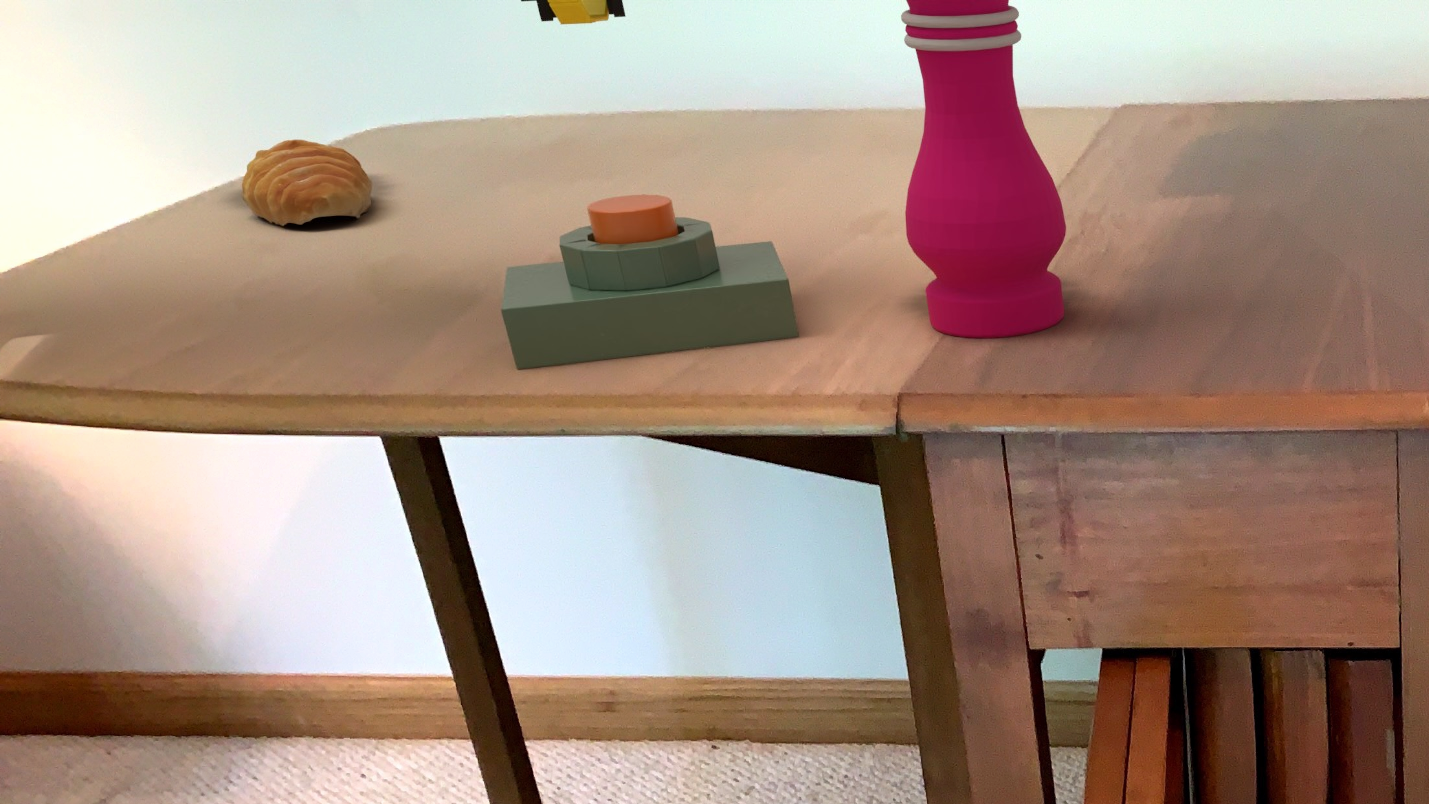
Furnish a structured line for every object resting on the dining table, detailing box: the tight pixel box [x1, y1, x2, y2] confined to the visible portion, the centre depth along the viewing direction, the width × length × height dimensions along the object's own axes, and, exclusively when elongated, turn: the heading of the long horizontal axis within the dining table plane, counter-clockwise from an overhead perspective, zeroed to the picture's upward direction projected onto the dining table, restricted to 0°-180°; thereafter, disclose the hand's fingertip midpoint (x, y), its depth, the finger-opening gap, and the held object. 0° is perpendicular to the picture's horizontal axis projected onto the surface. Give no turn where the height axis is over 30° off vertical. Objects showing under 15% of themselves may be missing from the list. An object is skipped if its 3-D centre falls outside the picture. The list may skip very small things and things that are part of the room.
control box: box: [500, 216, 800, 371], centre depth 79 cm, size 12×8×4 cm, turn 112°
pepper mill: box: [900, 0, 1067, 339], centre depth 75 cm, size 7×7×20 cm
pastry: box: [241, 139, 373, 227], centre depth 101 cm, size 9×7×4 cm
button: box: [586, 194, 679, 244], centre depth 77 cm, size 4×4×2 cm
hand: (583, 12), depth 81 cm, fingers closed on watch, 2 cm apart
